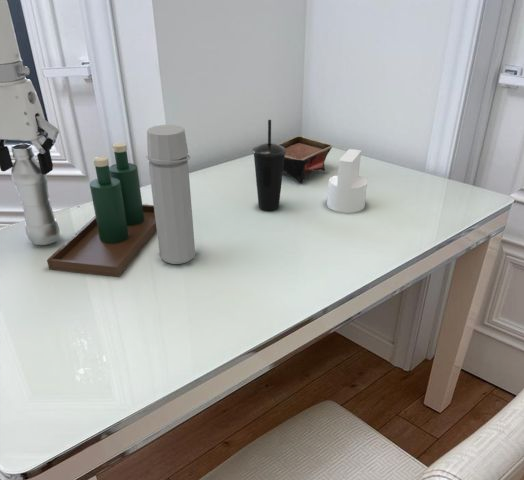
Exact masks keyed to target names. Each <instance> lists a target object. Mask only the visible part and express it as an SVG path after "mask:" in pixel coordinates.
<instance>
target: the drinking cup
mask: <svg viewBox="0 0 524 480" xmlns="http://www.w3.org/2000/svg"><path fill="white" fill-rule="evenodd" d="M278 144H279V143H275V142H274V143H272V119H268V120H267V142H266V143H261V144H259V145H256V146H254V147H252V150H251V151H252V154H253V160H254V161H253V162H254V169H255V181H256V193H257V204H258V209H259V210H261V211H264V212H274V211H277V210H279V208H280V202H281V201H280V199H281V191H282V183H283V174H284V172H283V166H284V157H285V154H286V148H284V147H282V146H280V145H278Z"/></svg>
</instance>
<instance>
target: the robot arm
mask: <svg viewBox="0 0 524 480" xmlns="http://www.w3.org/2000/svg"><path fill="white" fill-rule="evenodd" d="M30 73H31V72H30V67H29V66H25V65H24V63H23V60H22V57H21V53H20V49H19V45H18V40H17V35H16V32H15V26H14V23H13V19H12V14H11V11H10V6H9V3H8V0H0V171H1V172H6V171H8V170H10V169H12V167H13V164H14V162H13V161H12V156H11V153H10V148H9V147H8V145H5V144H6V141H19V142H20V141H21V142H31V145H33V146H34V148H35V149H36V150H37V152H38V153H37V154H36V157H37V161H38V162H39V165H40V169H41V173H42V174H44V175H47V174H49V173H51V172H52V171H54V170H53V169H54V165H53V164H54V163H53V159H52V156H51V155H52V154H51V151H50V150H52V148H53V146H54V145H55V143H56V141H57V138H58V136H59V133H60V129H58V128H57V127H56V126H54V124H51V122H49V121H48V120H46V118H45V115H44V110H43V107H42V104H41V101H40V99H39V96H38V94H37V91H36V88H35V87H34V84H33V83H32V80H31V79H29V78H28V79H27V78H26V77H27V76H30ZM44 135H45V136H46V135H47V137H45V136H44Z"/></svg>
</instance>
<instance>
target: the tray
mask: <svg viewBox="0 0 524 480" xmlns="http://www.w3.org/2000/svg"><path fill="white" fill-rule="evenodd" d="M142 206H143V213H144V221H143V222H142V223H140V224H137V225H132V226H127V228H128V234H129V237H128V239H126V240H125V241H123V242H120V243H104V242H102V241H101V240H100V236H99V230H98V225H97V220H96V215H94V216H93V217H92V218H91V219H90V220H89V221H87V222H86V223H85V224H84V225H83V226H82V227H80V229H79V230H78V231H77V232H75V233H74V235H72V236H71V237H70V238H69V239H68V240H67V241H65V243H64V244H62V245H61V246H60V247H59V248H58V249H57V250H56V251H55V252H54V253H52V254H51V255H50V256H49V257H47V259H46V263H47V266H48V270H52V271H60V272H68V273H69V272H71V273H79V274H88V275H97V276H106V277H117V278H119V277H120V276H121V275H122V274H123V272H124V271H125V270H126V269H127V268H128V266H129V265H130V264H131V263H132V262H133V261H134V259H135V258H136V257H137V256H138V254H139V253H140V252H141V251H142V250H143V248H145V246H146V245H147V243H148V242H149V241H150V240H151V239H152V238H153V237H154V235H155V234H157V228H156V220H155V212H154V204H144V203H142Z"/></svg>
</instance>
